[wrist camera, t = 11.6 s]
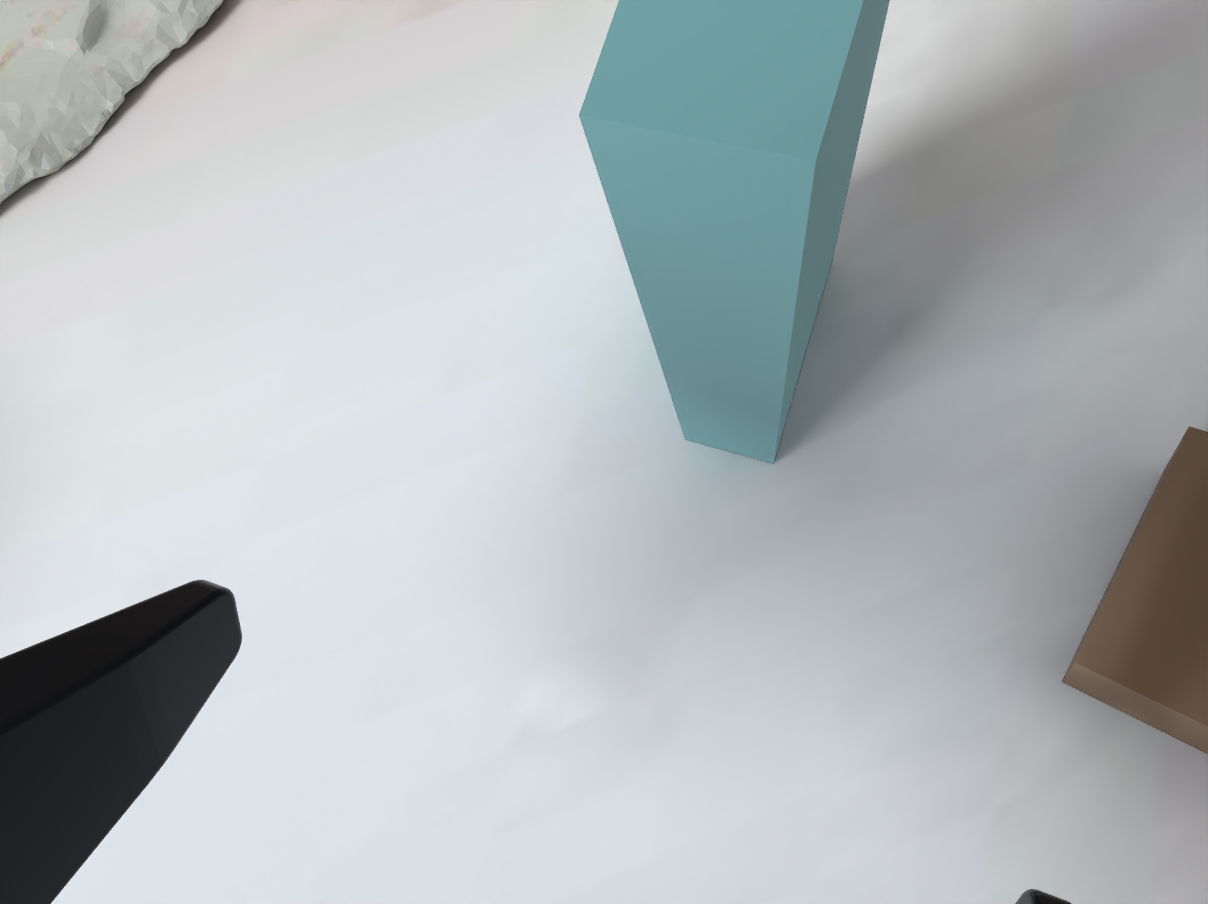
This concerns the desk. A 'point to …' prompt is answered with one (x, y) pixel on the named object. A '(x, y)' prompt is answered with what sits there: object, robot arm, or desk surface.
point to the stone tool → (76, 72)
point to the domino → (1158, 609)
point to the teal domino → (731, 188)
